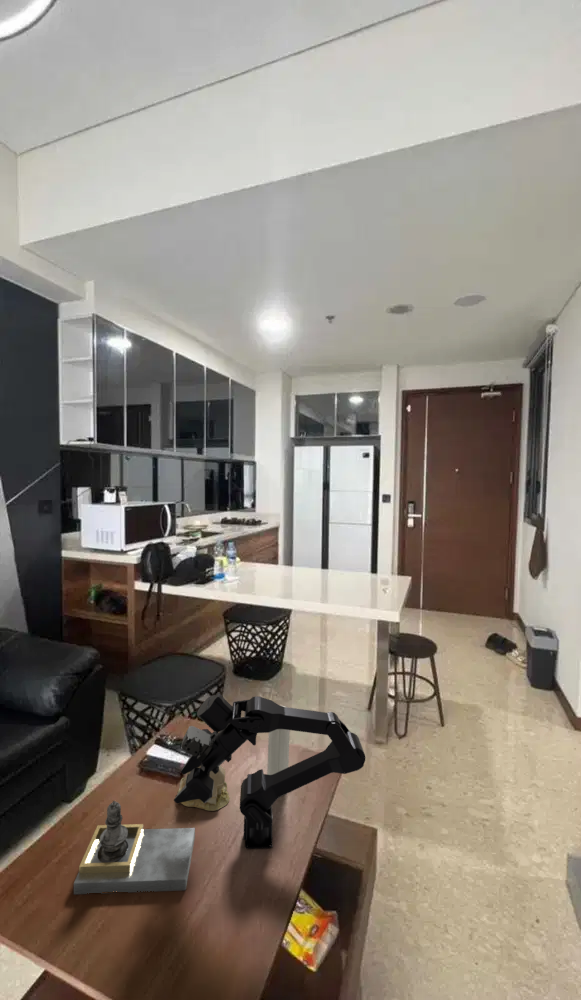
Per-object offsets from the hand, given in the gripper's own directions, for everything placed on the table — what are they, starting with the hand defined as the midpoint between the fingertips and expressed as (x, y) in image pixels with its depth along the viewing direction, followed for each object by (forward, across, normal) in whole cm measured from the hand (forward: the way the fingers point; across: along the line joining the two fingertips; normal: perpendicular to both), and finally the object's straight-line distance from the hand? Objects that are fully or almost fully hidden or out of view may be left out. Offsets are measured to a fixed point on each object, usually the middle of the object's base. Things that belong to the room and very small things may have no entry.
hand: (178, 786), depth 102 cm
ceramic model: (+7, -14, +13) cm, 20 cm away
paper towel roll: (-8, -18, +27) cm, 33 cm away
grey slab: (+15, +6, +4) cm, 17 cm away
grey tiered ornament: (+17, +5, -2) cm, 18 cm away
